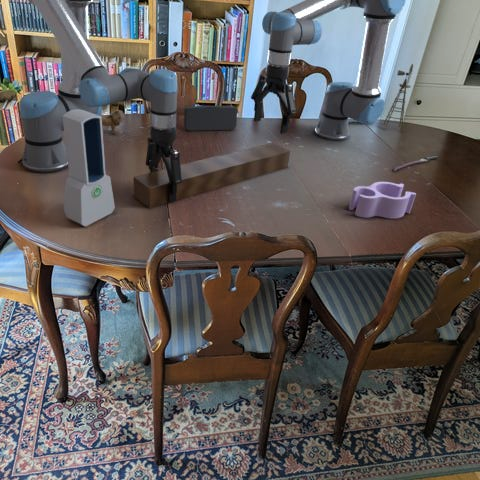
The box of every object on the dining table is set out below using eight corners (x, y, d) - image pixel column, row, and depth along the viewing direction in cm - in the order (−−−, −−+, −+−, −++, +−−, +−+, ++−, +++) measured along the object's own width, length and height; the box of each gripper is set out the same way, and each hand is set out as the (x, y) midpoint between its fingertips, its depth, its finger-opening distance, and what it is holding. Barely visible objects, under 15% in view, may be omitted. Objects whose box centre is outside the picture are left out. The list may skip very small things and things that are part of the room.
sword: (433, 155, 200) (434, 153, 199) (439, 158, 198) (440, 155, 197) (387, 170, 184) (387, 168, 183) (393, 173, 182) (394, 171, 181)
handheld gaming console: (234, 127, 207) (236, 105, 202) (236, 129, 205) (238, 107, 200) (183, 128, 200) (184, 105, 195) (185, 131, 198) (185, 107, 192)
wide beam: (149, 208, 141) (149, 188, 137) (134, 196, 146) (133, 176, 143) (287, 167, 176) (290, 150, 172) (270, 158, 182) (273, 142, 178)
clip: (362, 221, 145) (367, 202, 142) (342, 202, 155) (347, 184, 151) (415, 216, 152) (421, 197, 148) (393, 198, 161) (398, 180, 158)
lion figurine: (123, 129, 193) (122, 108, 188) (125, 134, 189) (124, 112, 184) (86, 130, 188) (84, 108, 183) (87, 135, 184) (85, 113, 179)
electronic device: (82, 228, 128) (71, 122, 112) (63, 219, 131) (50, 114, 115) (115, 211, 137) (109, 111, 121) (97, 203, 140) (89, 104, 124)
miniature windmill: (401, 131, 224) (420, 67, 208) (384, 129, 225) (401, 64, 209) (400, 126, 231) (418, 63, 215) (383, 123, 232) (399, 60, 216)
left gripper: (196, 136, 131) (193, 206, 143) (154, 113, 144) (154, 178, 157) (173, 140, 127) (172, 212, 139) (132, 116, 140) (134, 183, 152)
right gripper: (313, 72, 149) (302, 136, 160) (260, 55, 164) (254, 114, 175) (297, 74, 145) (287, 140, 156) (244, 56, 160) (239, 117, 171)
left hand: (163, 194), depth 148 cm, fingers closed on wide beam, 9 cm apart
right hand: (270, 126), depth 166 cm, fingers open, 13 cm apart
